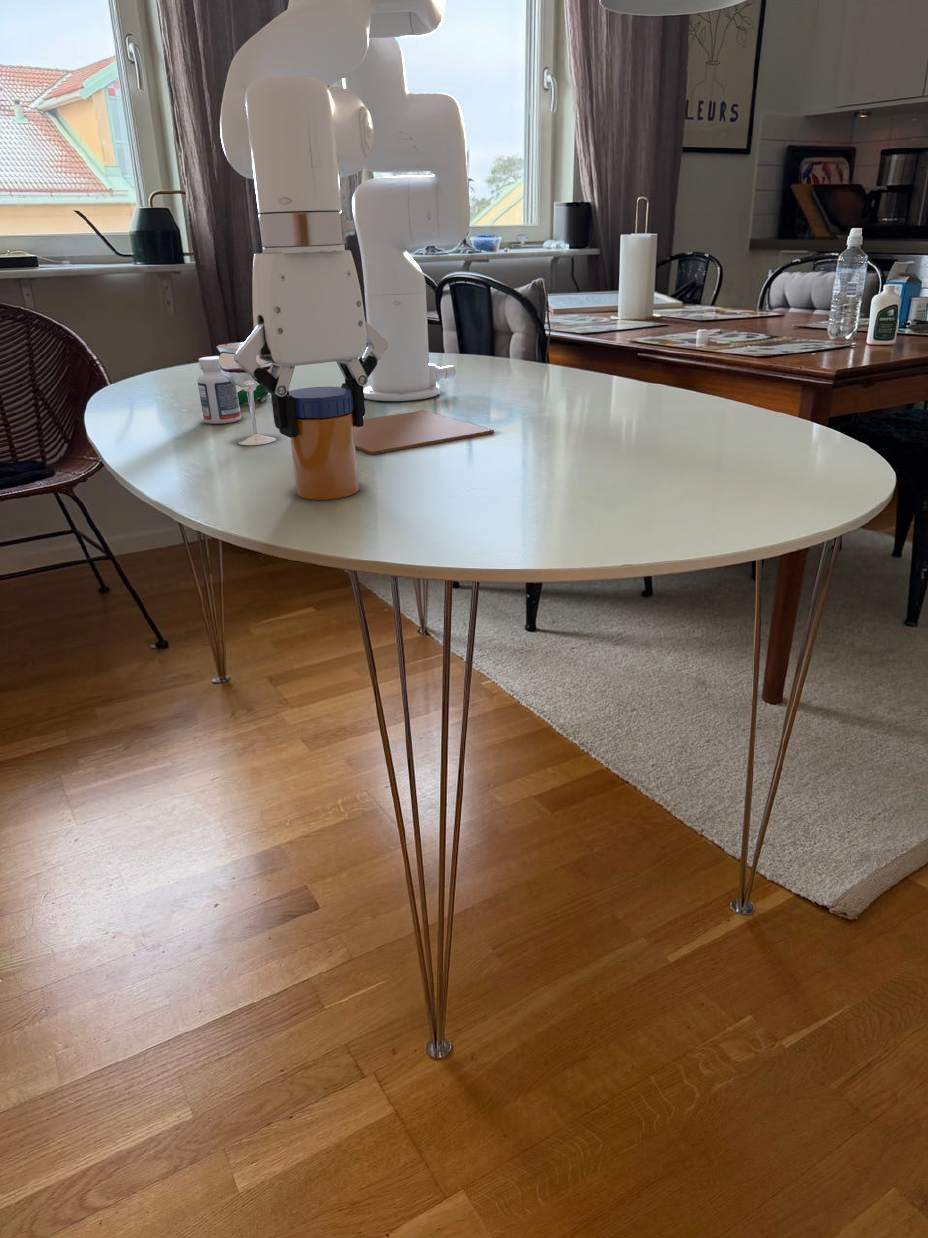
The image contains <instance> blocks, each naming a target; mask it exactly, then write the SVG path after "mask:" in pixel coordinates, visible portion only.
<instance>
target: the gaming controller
mask: <svg viewBox="0 0 928 1238" xmlns="http://www.w3.org/2000/svg"><path fill="white" fill-rule="evenodd" d="M237 394H238V400H239V407H241V406H244V405H247V404H248V405H249V401H248V396H247V391H244V390H243V389H241V390H239V391H237ZM253 395H254V402H261V403H264V402H265V400H268V398H269V397H271V393H269V392H267V391H266V389H265V388H263V387H262V386H261V385H258V386H256V390H255V391H253Z"/></svg>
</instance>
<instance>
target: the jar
mask: <svg viewBox="0 0 928 1238" xmlns="http://www.w3.org/2000/svg"><path fill="white" fill-rule="evenodd" d="M296 420H297V429H298V435H297V436H296V437H293V438H290V445H291V446H290V447H291V455H292V462H293V463H292V464H293V471H294V481H295V488H296V489H295V490H296V495H297V496H299V497H300V498H303V499H306V500H313V501H314V500H315V501H328V500H337V499H343V498H347V497H349V496H352V495H354V494H356V493H358V491H359V490H360V485H359V484H360V483H359V472H358V462H357V451H356V450H357V449H356V448H355V436H354V424H353V412H352V411H351V412H350V413H347V414H343V415H339V416H333V417H324V418H298V417H296Z"/></svg>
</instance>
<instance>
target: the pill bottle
mask: <svg viewBox="0 0 928 1238" xmlns="http://www.w3.org/2000/svg"><path fill="white" fill-rule="evenodd" d="M219 356H220V355H213V356H203V357H200V358H198V366H199V369H200V370H201V374H199V375H198V376H197V380H196V381H197V387H198V393H199V400H200V405H201V412H202V417H203V422H204V423H205V424H208V425H224V424H231V423H236V422H238V421H240V420H241V419H242V415H241V408H240V407H241V406H239V400H238V394H237V392H238V386H237V385H235V384H233V383H231V382H230V381H229V380H228V379H227V378H226V377H224V376H223V374H222V372H221V370H220V367H219V363H218V362H219Z"/></svg>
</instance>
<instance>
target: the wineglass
mask: <svg viewBox="0 0 928 1238" xmlns="http://www.w3.org/2000/svg"><path fill="white" fill-rule="evenodd" d="M244 342H245V341H240V342H239V341H238V342H229V343H223V344H218V345H217V346H216V349H217V350H218V351H219V353H220V354H219V355H218V356H219V362H218V363H219V367H220V370H221V372H222V374H223V376H224V377H226V378H227V379H228V380H229V381H230V382H231V383H233V384H235V385H236V386H237V387H239V388H242V390H244V391H247V396H248V401H249V403H248V406H249V414H250V418H251V423H252V424H251V425H252V430H253V434H251V435H249V436H245V437H244V438H241V439H239V440H237V441H236V443H237V444H238V445H243V446H259V445H266V444H270V443H273V442H275V441H277V440H276V437H273V436H270V435H264V434H260V433H258V430H257V417H256V408H255V401H254V395H253V391H255V390H256V386H258V385H260V384H259V383H258V382H256V381H255V380H254V379H253V378H252V377H251V376H250V375H249V374H248V373H247V372H246V371H244V370H243V369H242V368H241V367H240V366H239V365H238V364H237V363H236V362H235V361H234V355H235V354H236V353H237V351H238V350H239V349H240V348H241V346H242V345H243V344H244ZM256 361H257V362H258V363H259V364H260V366H261V367H263V368H264V369H265V370H267V371H268V372H269V370H270V367H271V363H272V362H267V361H264V360H262V359H260V358H259V357H258V354H257V356H256Z"/></svg>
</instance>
